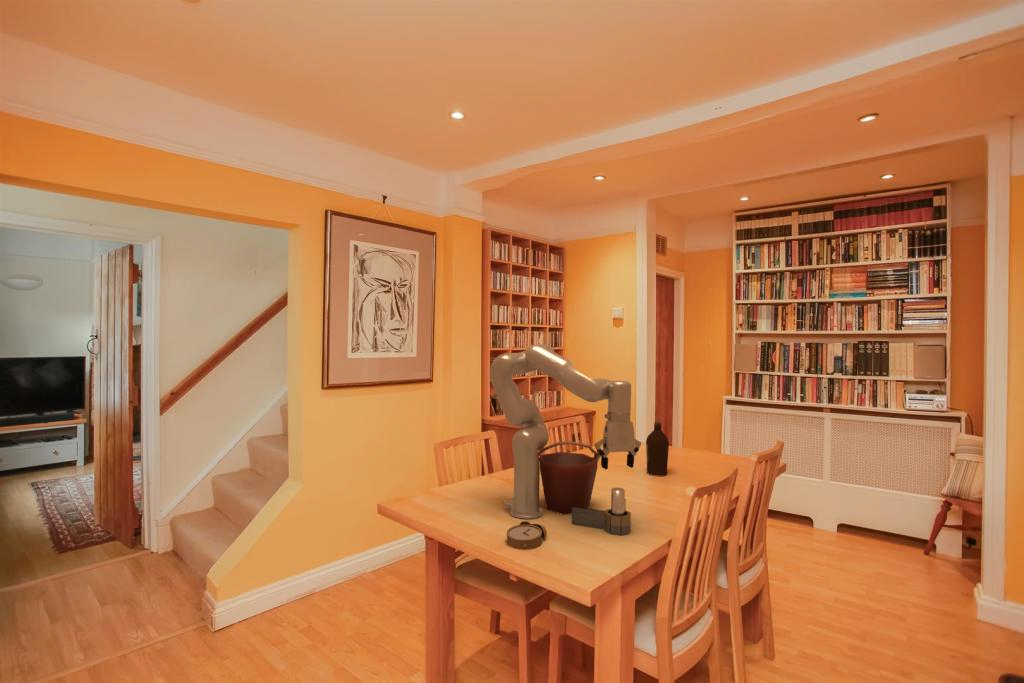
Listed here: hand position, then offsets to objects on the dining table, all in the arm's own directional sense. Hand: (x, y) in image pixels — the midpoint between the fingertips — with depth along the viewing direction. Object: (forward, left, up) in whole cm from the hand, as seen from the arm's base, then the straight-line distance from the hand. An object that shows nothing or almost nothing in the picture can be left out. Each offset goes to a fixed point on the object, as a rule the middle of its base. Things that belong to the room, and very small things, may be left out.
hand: (617, 467), depth 172 cm
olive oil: (+7, +81, -22) cm, 84 cm away
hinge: (-5, +6, -21) cm, 23 cm away
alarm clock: (-25, -20, -22) cm, 39 cm away
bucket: (-21, +16, -22) cm, 34 cm away
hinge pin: (0, 0, -21) cm, 21 cm away
